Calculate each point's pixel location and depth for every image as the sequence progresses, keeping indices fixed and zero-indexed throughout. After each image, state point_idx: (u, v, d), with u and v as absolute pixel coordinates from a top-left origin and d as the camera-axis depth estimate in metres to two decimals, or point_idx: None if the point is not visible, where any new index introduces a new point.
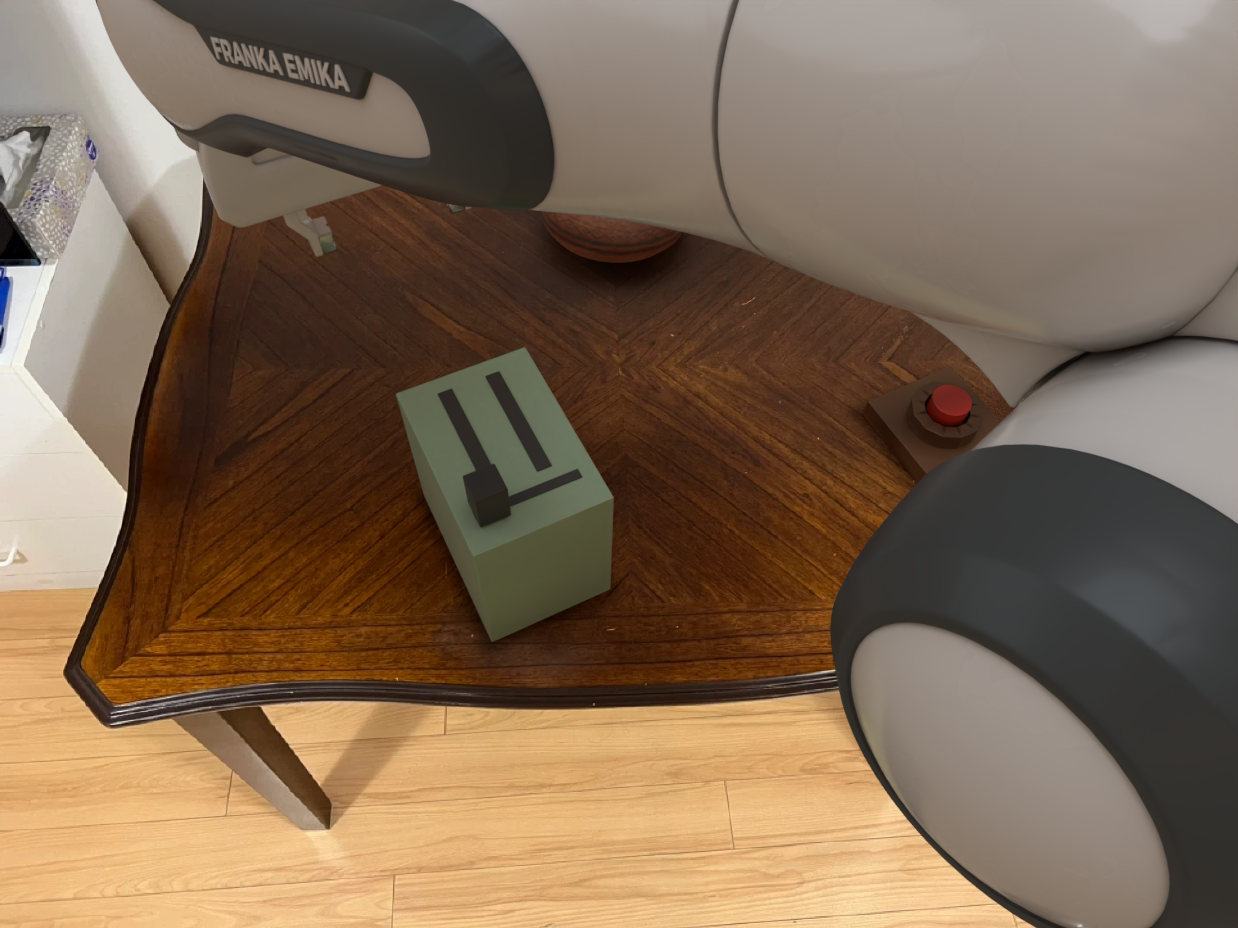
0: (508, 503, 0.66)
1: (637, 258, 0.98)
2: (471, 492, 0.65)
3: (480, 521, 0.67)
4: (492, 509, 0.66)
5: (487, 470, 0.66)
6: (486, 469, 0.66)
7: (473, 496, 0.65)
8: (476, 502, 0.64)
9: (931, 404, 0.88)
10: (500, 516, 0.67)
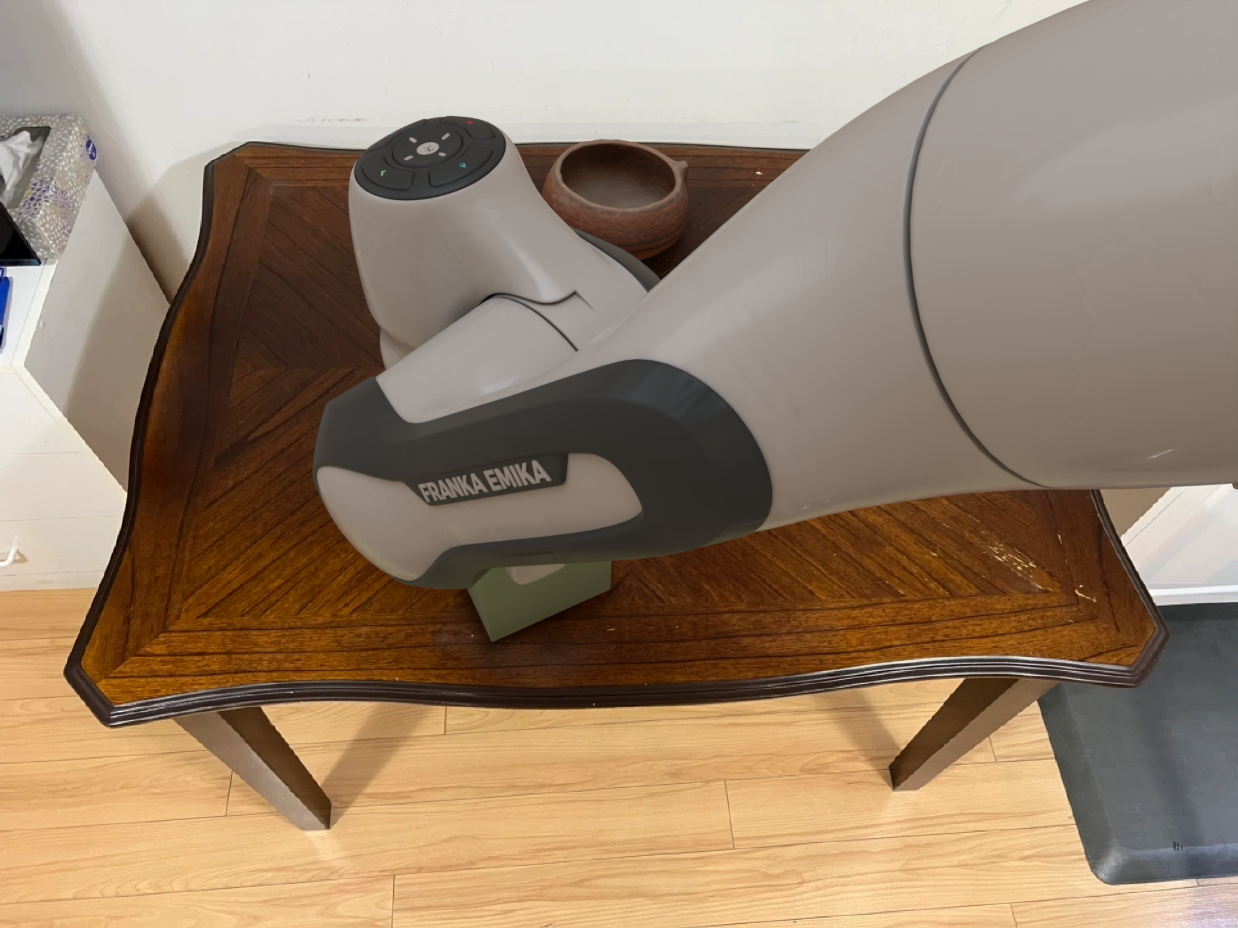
0: None
1: (637, 258, 0.98)
2: None
3: None
4: None
5: None
6: None
7: None
8: None
9: None
10: None
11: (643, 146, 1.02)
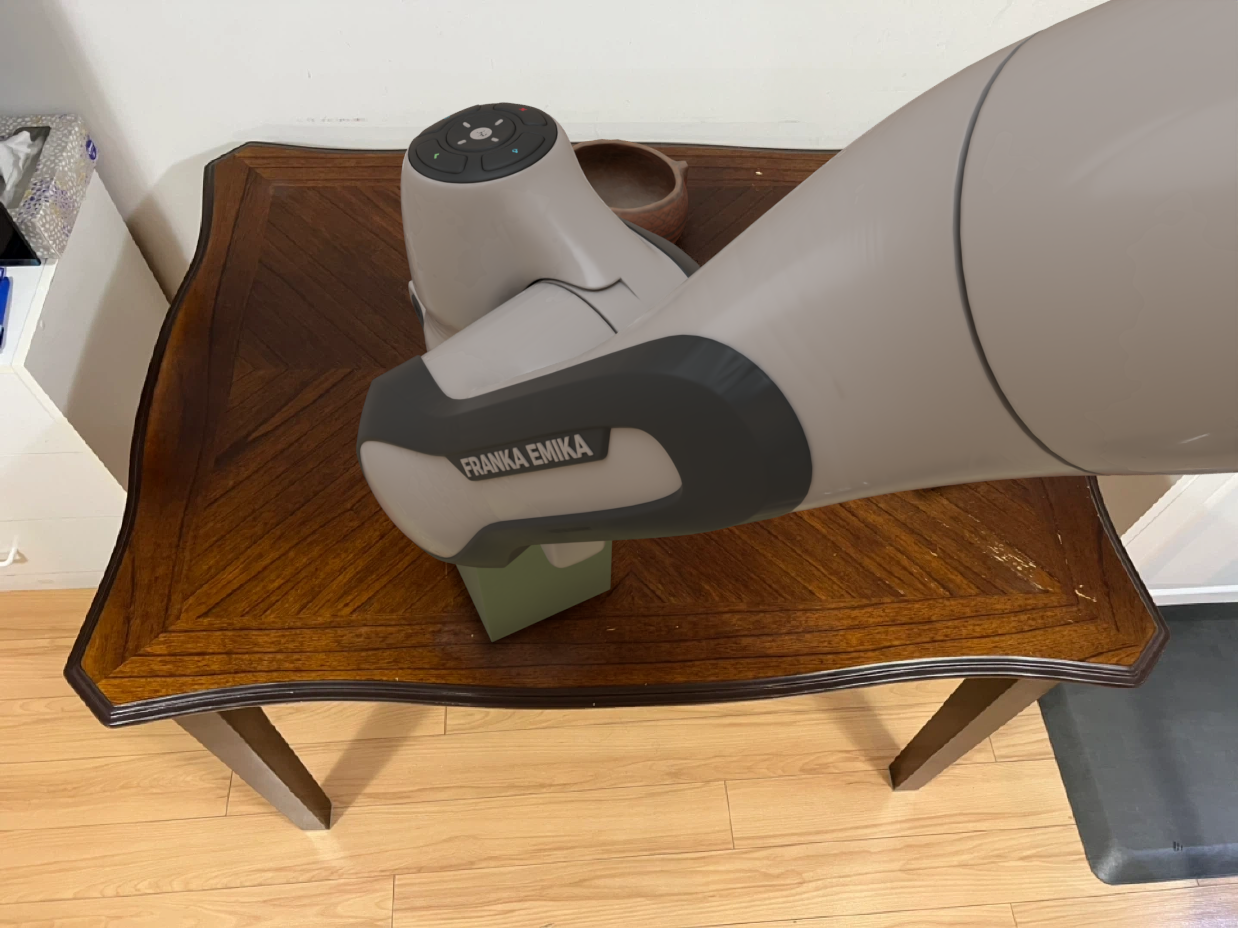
0: None
1: None
2: None
3: None
4: None
5: None
6: None
7: None
8: None
9: None
10: None
11: (643, 146, 1.02)
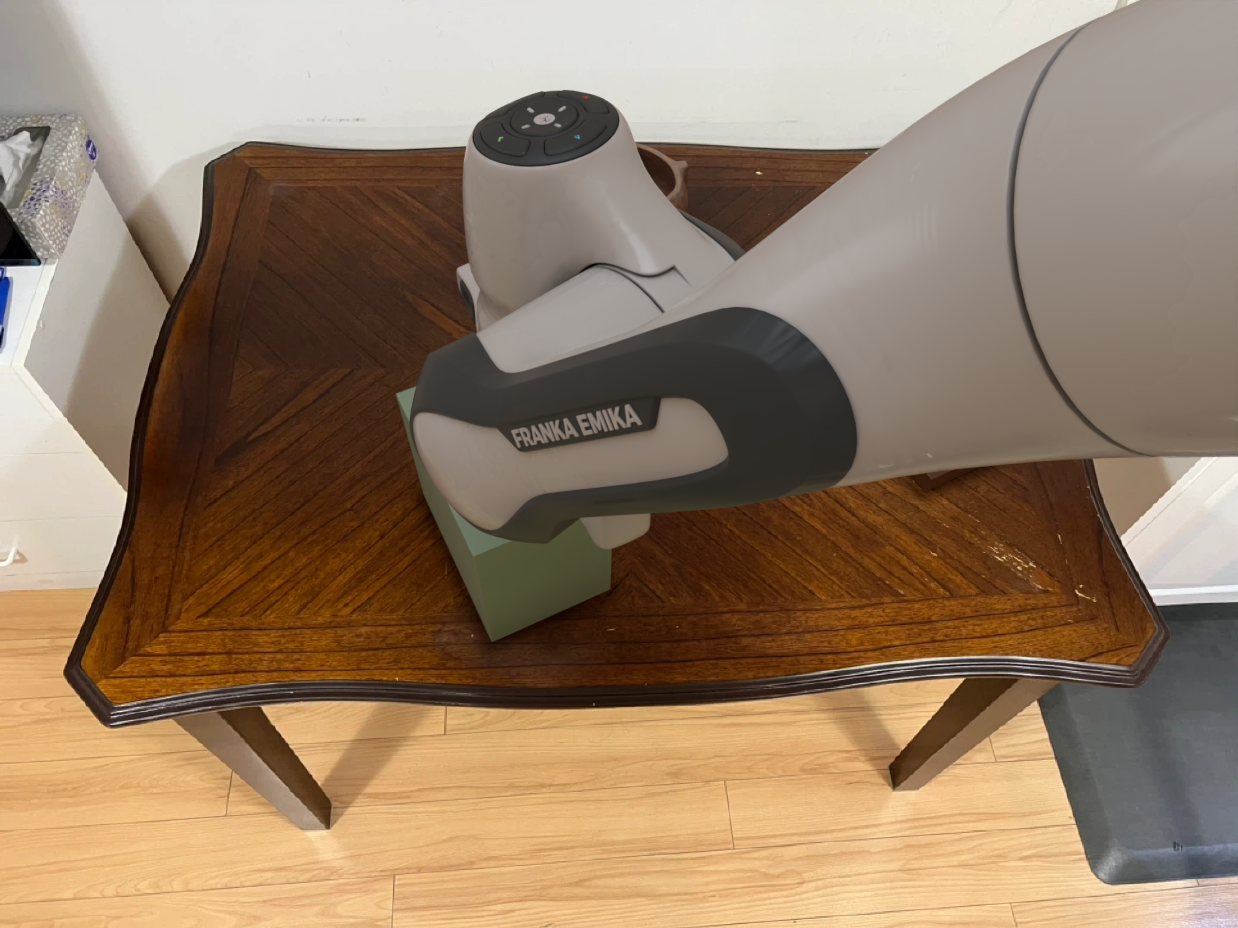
0: None
1: None
2: None
3: None
4: None
5: None
6: None
7: None
8: None
9: None
10: None
11: (643, 146, 1.02)
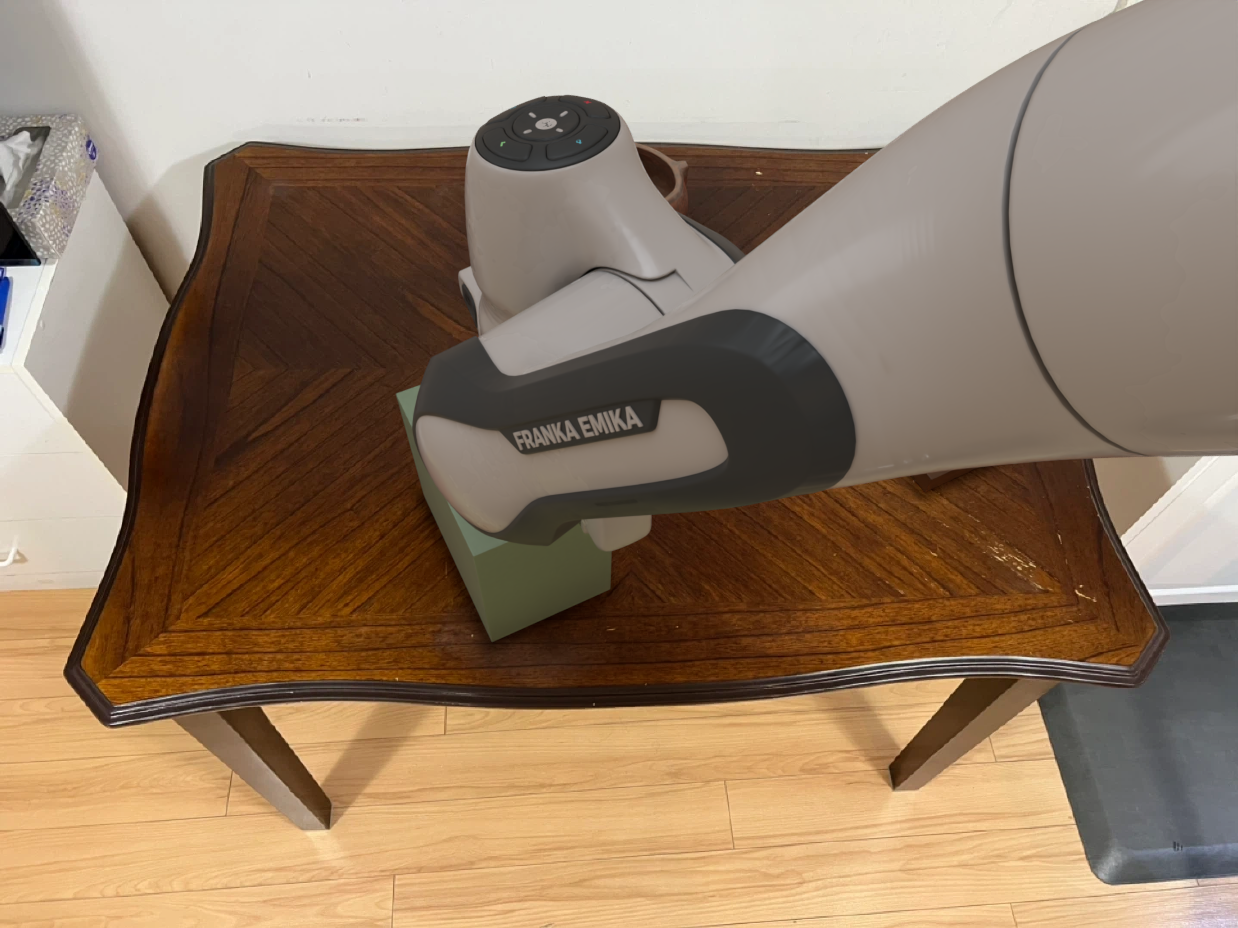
0: None
1: None
2: None
3: None
4: None
5: None
6: None
7: None
8: None
9: None
10: None
11: (643, 146, 1.02)
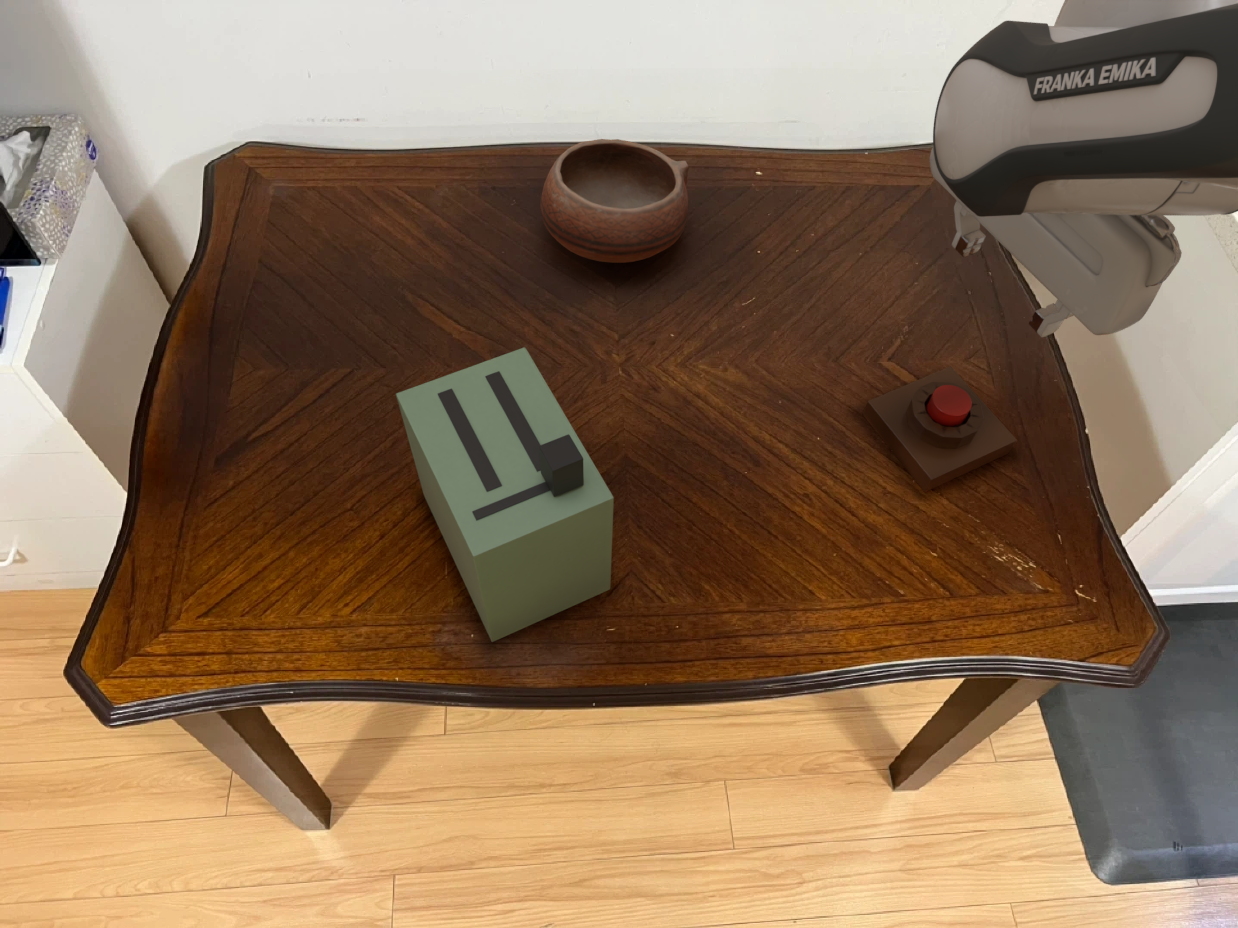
0: (582, 473, 0.68)
1: (637, 258, 0.98)
2: (548, 461, 0.66)
3: (555, 490, 0.68)
4: (567, 478, 0.68)
5: (562, 440, 0.67)
6: (561, 439, 0.67)
7: (550, 465, 0.66)
8: (553, 471, 0.66)
9: (931, 404, 0.88)
10: (573, 486, 0.69)
11: (643, 146, 1.02)
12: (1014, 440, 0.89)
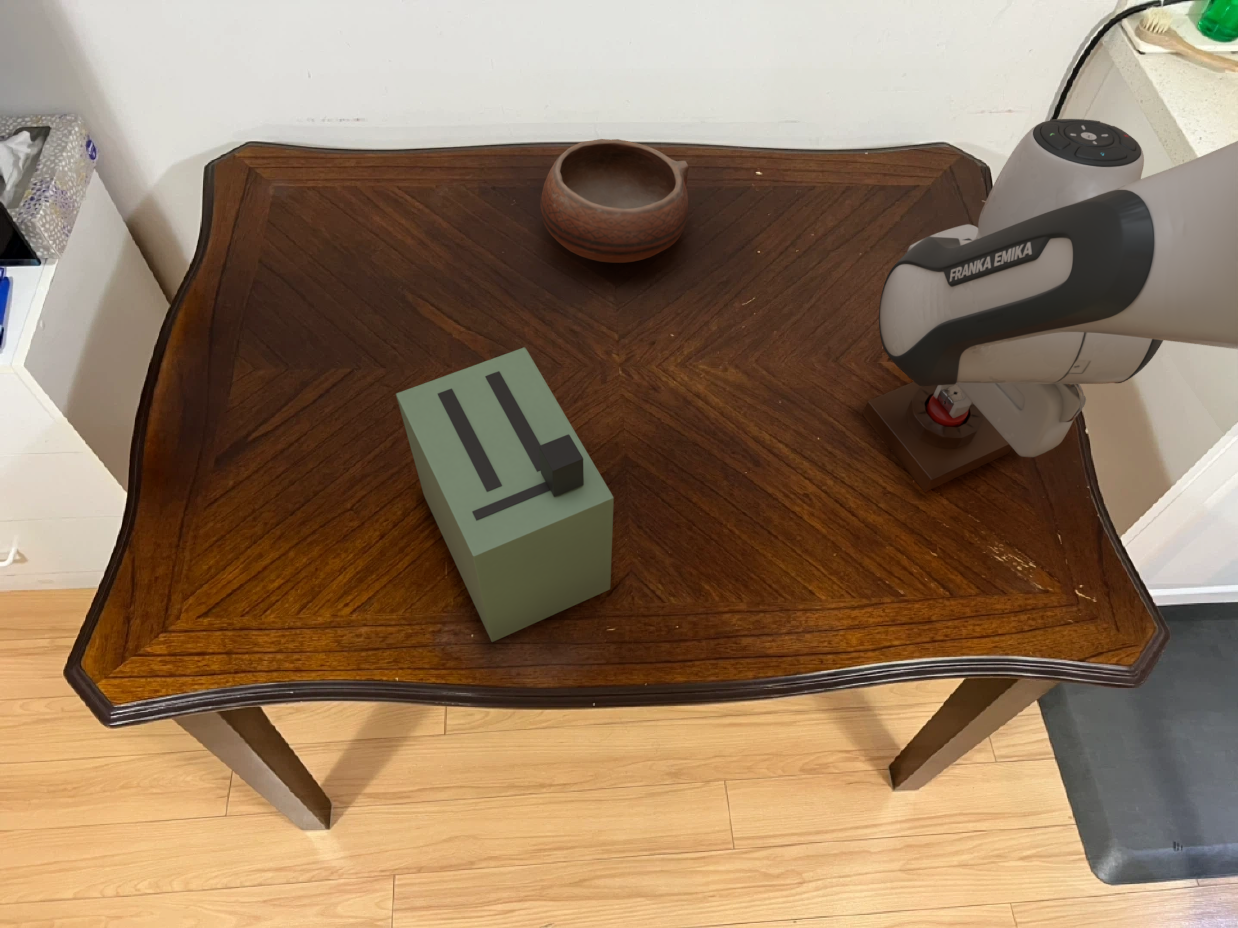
0: (582, 473, 0.68)
1: (637, 258, 0.98)
2: (548, 461, 0.66)
3: (555, 490, 0.68)
4: (567, 478, 0.68)
5: (562, 440, 0.67)
6: (561, 439, 0.67)
7: (550, 465, 0.66)
8: (553, 471, 0.66)
9: (928, 410, 0.88)
10: (573, 486, 0.69)
11: (643, 146, 1.02)
12: None
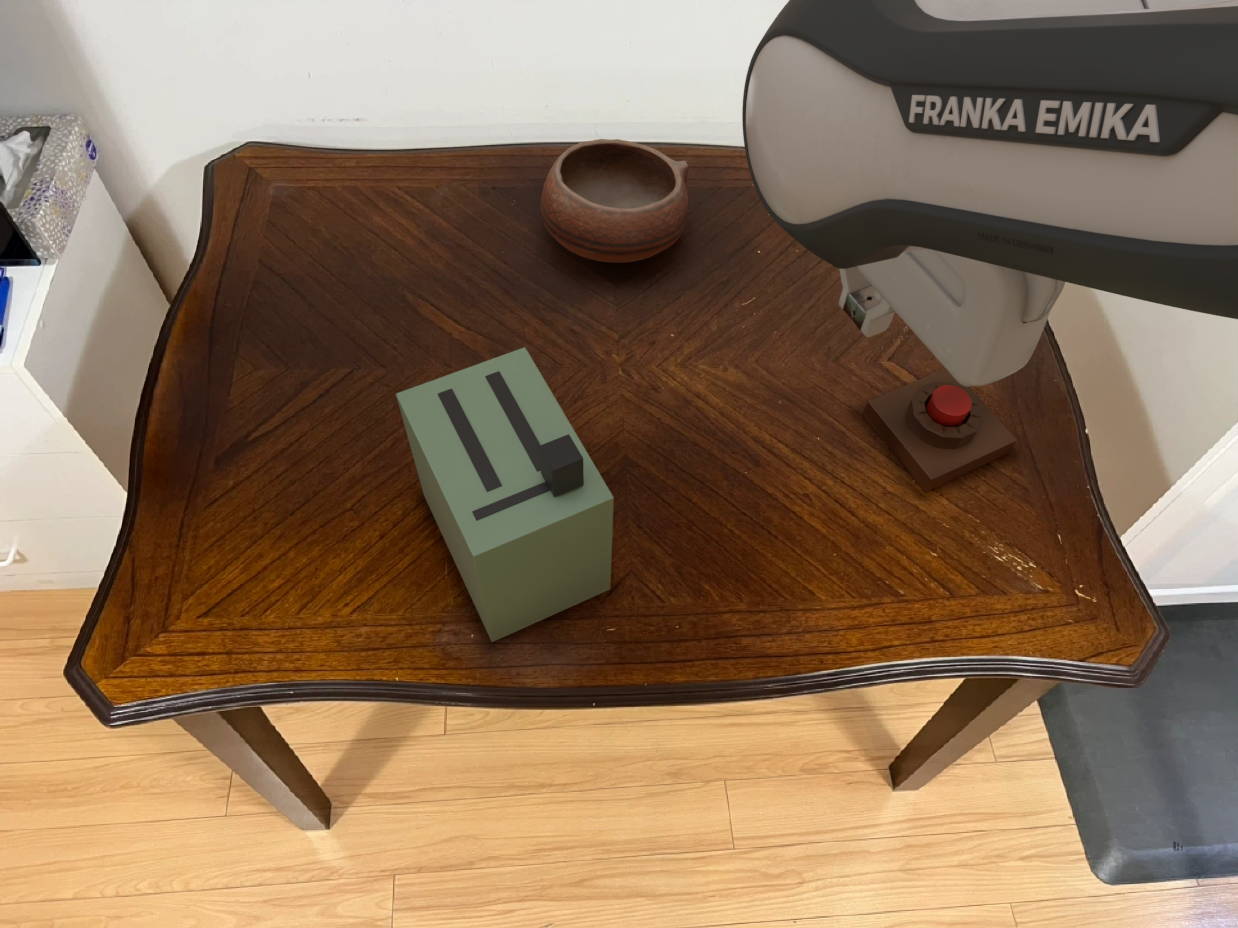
0: (582, 473, 0.68)
1: (637, 258, 0.98)
2: (548, 461, 0.66)
3: (555, 490, 0.68)
4: (567, 478, 0.68)
5: (562, 440, 0.67)
6: (561, 439, 0.67)
7: (550, 465, 0.66)
8: (553, 471, 0.66)
9: (931, 404, 0.88)
10: (573, 486, 0.69)
11: (643, 146, 1.02)
12: (1014, 440, 0.89)
